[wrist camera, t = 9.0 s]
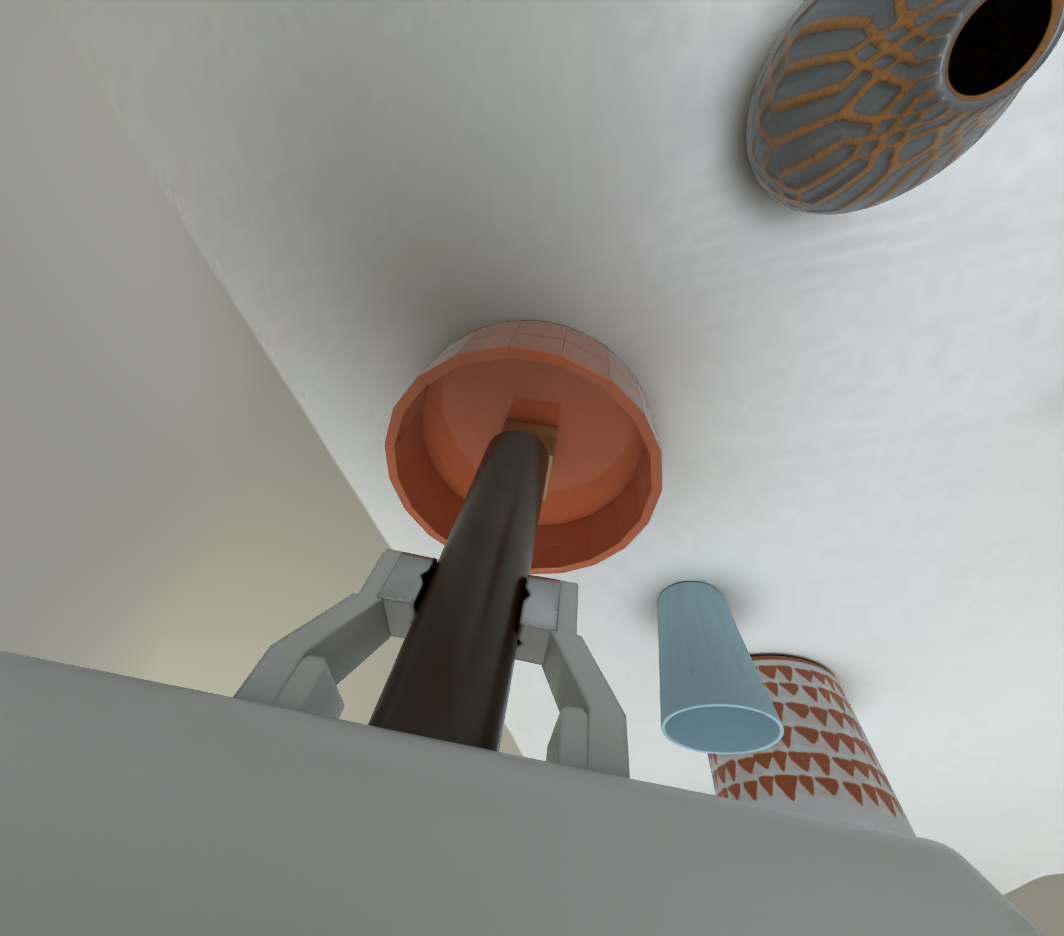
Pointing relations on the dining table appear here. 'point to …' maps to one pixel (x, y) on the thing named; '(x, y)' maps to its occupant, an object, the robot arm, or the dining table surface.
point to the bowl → (541, 398)
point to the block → (541, 432)
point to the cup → (709, 677)
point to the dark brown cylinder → (472, 606)
